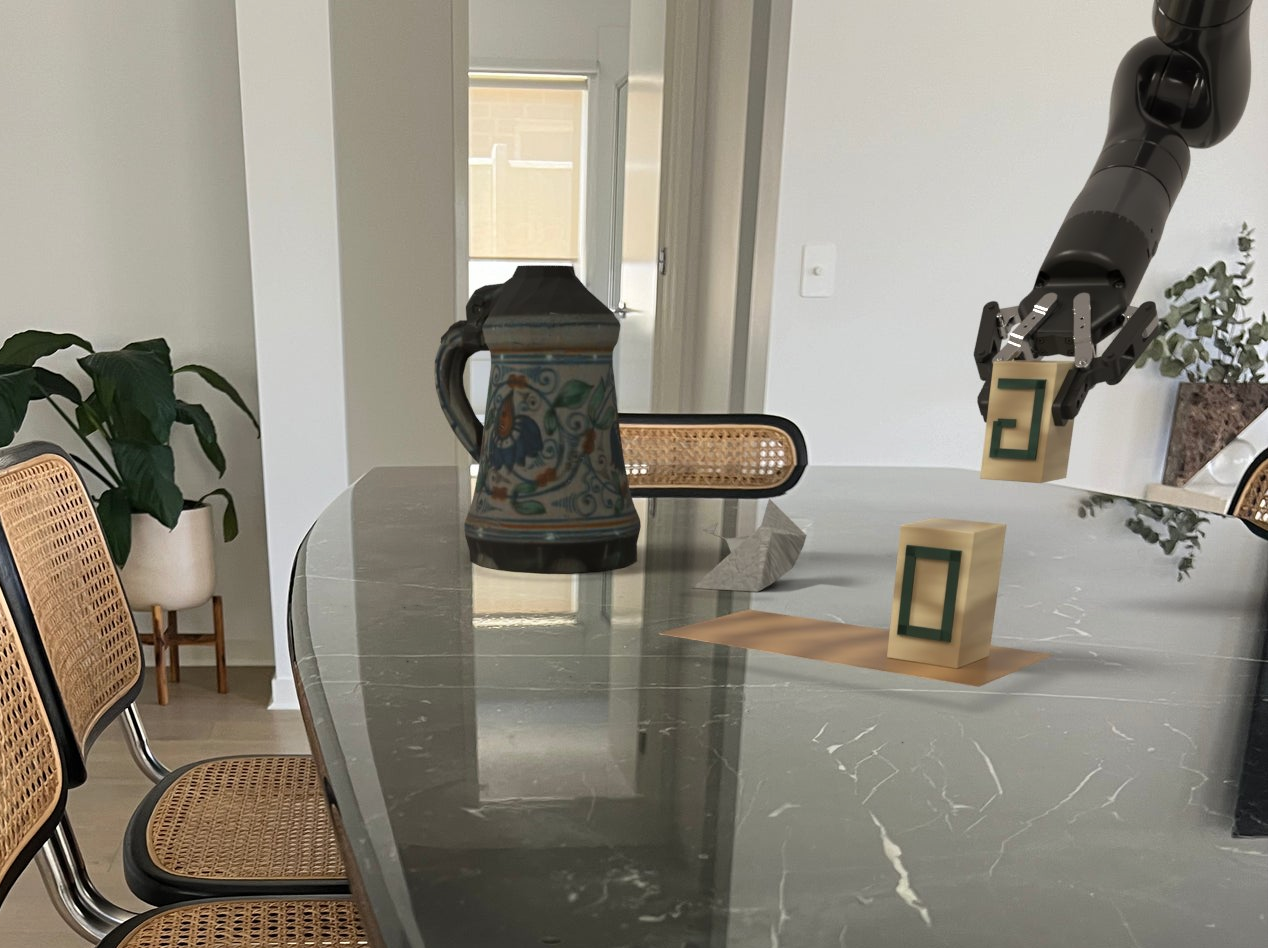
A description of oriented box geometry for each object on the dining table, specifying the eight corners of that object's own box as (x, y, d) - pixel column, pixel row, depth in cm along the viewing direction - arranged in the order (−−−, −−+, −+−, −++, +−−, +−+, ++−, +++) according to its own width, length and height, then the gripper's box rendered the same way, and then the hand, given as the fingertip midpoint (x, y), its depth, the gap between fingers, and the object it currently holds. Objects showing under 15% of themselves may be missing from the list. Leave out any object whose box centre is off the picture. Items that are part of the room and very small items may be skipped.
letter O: (989, 656, 97) (1007, 524, 94) (955, 669, 94) (973, 532, 90) (920, 645, 100) (935, 517, 97) (884, 658, 96) (898, 525, 93)
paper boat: (753, 585, 119) (661, 544, 123) (753, 639, 125) (665, 599, 128) (832, 494, 123) (740, 457, 127) (828, 551, 129) (740, 514, 132)
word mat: (1051, 666, 98) (1053, 654, 98) (977, 699, 90) (978, 686, 90) (747, 619, 112) (748, 609, 112) (657, 644, 104) (657, 632, 103)
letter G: (1066, 478, 115) (1082, 361, 111) (1040, 483, 111) (1056, 362, 108) (1005, 474, 118) (1019, 360, 114) (978, 479, 114) (992, 361, 111)
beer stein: (643, 575, 130) (653, 264, 120) (425, 572, 130) (417, 262, 120) (636, 547, 145) (645, 269, 135) (441, 545, 145) (435, 267, 135)
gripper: (1007, 210, 116) (922, 378, 113) (1192, 203, 108) (1108, 383, 104) (1025, 285, 122) (945, 446, 118) (1202, 284, 114) (1122, 457, 110)
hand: (1022, 416), depth 111 cm, fingers closed on letter G, 5 cm apart
